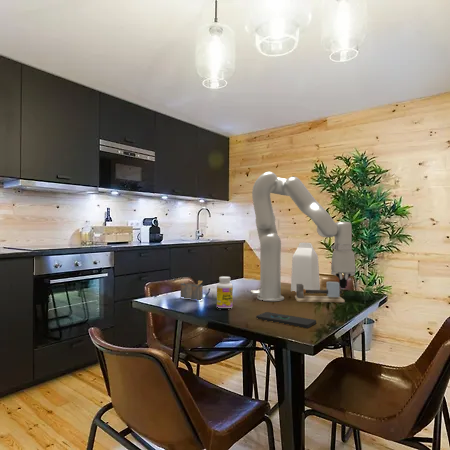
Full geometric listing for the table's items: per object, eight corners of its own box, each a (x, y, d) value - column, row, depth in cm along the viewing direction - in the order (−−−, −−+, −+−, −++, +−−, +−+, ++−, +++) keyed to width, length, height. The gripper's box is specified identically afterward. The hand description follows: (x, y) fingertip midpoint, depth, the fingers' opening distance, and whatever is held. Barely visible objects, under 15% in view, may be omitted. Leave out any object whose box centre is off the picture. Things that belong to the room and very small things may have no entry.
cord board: (297, 301, 154) (297, 286, 154) (295, 297, 162) (294, 283, 163) (344, 302, 152) (344, 286, 152) (339, 298, 161) (339, 283, 161)
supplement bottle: (221, 310, 135) (221, 278, 136) (214, 307, 141) (214, 276, 141) (235, 309, 138) (235, 277, 139) (228, 305, 144) (228, 275, 144)
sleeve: (328, 297, 155) (328, 282, 155) (326, 295, 159) (326, 281, 159) (339, 297, 154) (339, 283, 155) (337, 295, 158) (337, 281, 159)
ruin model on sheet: (203, 301, 155) (203, 280, 155) (198, 302, 153) (198, 281, 153) (184, 298, 162) (185, 278, 162) (180, 299, 159) (180, 279, 159)
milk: (290, 291, 180) (290, 242, 180) (299, 288, 189) (299, 242, 190) (312, 293, 173) (312, 243, 174) (320, 290, 183) (319, 242, 183)
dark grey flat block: (266, 311, 129) (316, 319, 117) (266, 315, 129) (316, 324, 117) (255, 315, 123) (307, 324, 111) (255, 320, 123) (307, 329, 111)
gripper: (328, 248, 154) (328, 288, 153) (362, 248, 152) (362, 289, 152) (324, 247, 161) (324, 286, 161) (357, 248, 160) (357, 286, 159)
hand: (343, 287), depth 156 cm, fingers closed
